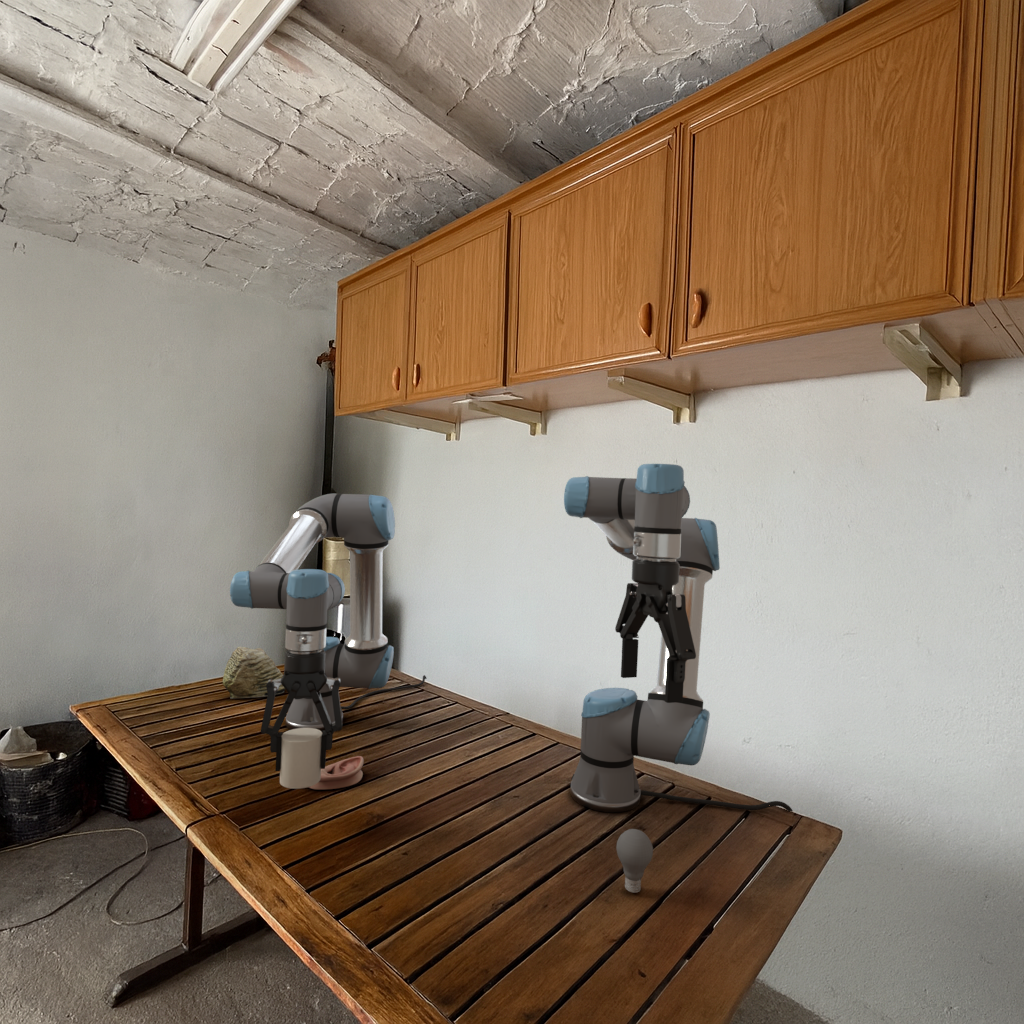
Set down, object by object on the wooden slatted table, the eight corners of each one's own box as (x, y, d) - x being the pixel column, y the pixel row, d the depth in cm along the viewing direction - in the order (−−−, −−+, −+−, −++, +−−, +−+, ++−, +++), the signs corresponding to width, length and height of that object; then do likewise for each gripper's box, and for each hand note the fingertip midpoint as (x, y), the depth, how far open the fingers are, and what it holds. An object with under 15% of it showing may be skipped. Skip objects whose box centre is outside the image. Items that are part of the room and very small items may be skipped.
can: (271, 785, 120) (273, 738, 120) (293, 769, 127) (295, 725, 127) (307, 791, 118) (309, 744, 118) (327, 774, 126) (329, 730, 126)
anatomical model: (290, 768, 137) (317, 748, 149) (290, 786, 138) (316, 764, 149) (347, 776, 135) (370, 755, 146) (346, 794, 135) (369, 772, 146)
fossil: (218, 695, 195) (220, 647, 195) (278, 685, 208) (279, 640, 207) (228, 703, 189) (230, 653, 188) (289, 692, 201) (290, 645, 201)
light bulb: (610, 879, 108) (613, 822, 108) (644, 879, 109) (647, 822, 109) (619, 902, 102) (622, 840, 102) (655, 901, 103) (658, 840, 103)
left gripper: (245, 655, 117) (240, 778, 117) (359, 653, 121) (355, 772, 122) (252, 645, 124) (248, 761, 124) (359, 644, 129) (355, 756, 129)
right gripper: (599, 551, 114) (594, 669, 114) (681, 567, 90) (673, 715, 90) (636, 552, 116) (631, 667, 116) (724, 568, 92) (717, 712, 93)
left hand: (300, 766), depth 123 cm, fingers closed on can, 8 cm apart
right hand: (649, 688), depth 103 cm, fingers open, 13 cm apart
